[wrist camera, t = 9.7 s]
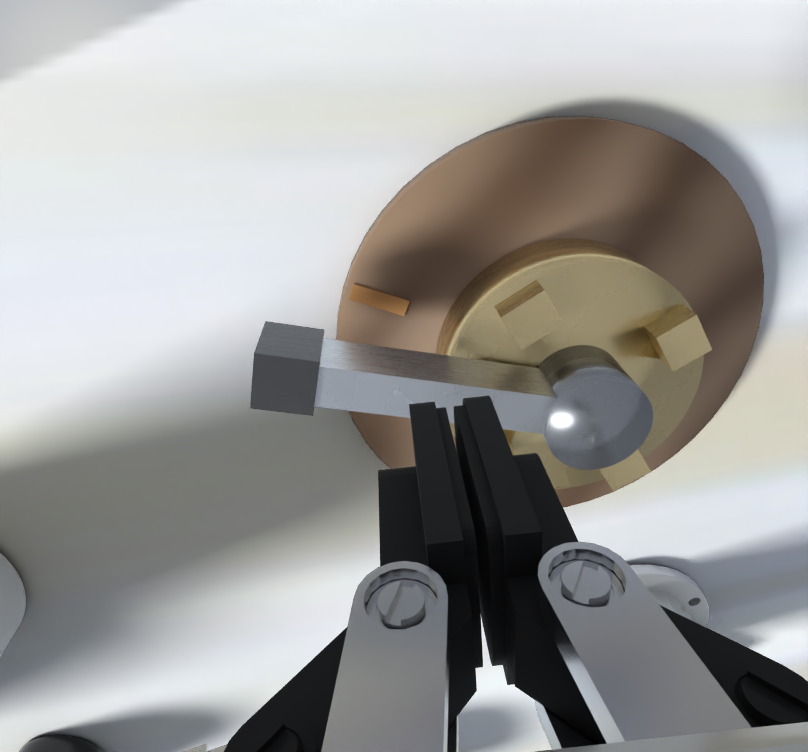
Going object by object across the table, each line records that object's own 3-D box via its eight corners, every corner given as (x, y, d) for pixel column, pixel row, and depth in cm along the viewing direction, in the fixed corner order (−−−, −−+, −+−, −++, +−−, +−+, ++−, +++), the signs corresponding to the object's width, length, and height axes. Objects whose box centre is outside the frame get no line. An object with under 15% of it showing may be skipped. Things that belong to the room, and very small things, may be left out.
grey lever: (708, 260, 27) (803, 314, 21) (616, 459, 32) (672, 545, 27) (285, 185, 24) (262, 224, 18) (265, 419, 29) (243, 505, 24)
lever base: (835, 234, 29) (860, 243, 27) (594, 532, 38) (603, 550, 36) (454, 19, 23) (460, 17, 21) (279, 432, 32) (276, 449, 31)
